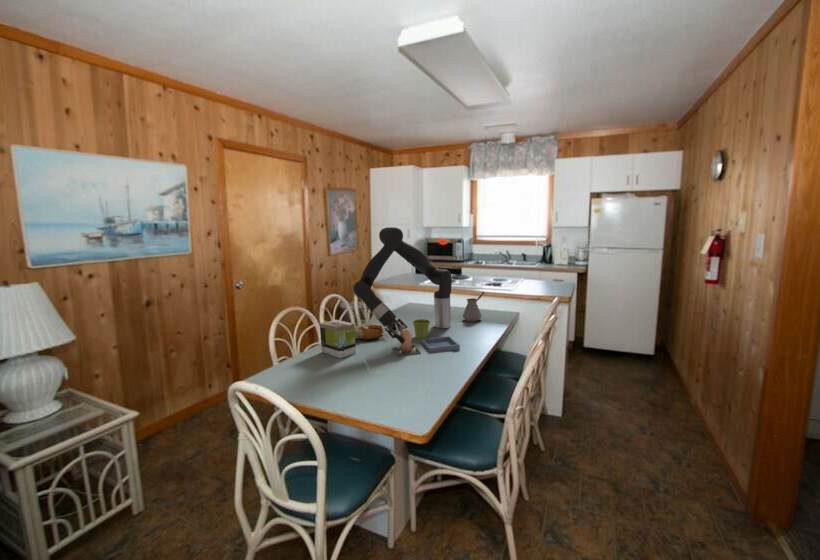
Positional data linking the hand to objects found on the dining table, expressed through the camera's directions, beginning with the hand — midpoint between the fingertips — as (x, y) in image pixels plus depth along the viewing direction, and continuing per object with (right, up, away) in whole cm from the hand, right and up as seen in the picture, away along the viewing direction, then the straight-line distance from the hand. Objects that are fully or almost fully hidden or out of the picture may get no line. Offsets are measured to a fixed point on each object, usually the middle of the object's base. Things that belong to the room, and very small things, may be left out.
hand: (407, 339), depth 186 cm
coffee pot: (+42, +4, +58) cm, 72 cm away
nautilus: (-19, -4, +23) cm, 30 cm away
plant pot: (+8, -3, +23) cm, 25 cm away
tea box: (-33, -7, +4) cm, 34 cm away
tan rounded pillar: (0, -6, +1) cm, 6 cm away
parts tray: (0, -6, +1) cm, 6 cm away
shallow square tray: (+16, -5, +7) cm, 18 cm away
